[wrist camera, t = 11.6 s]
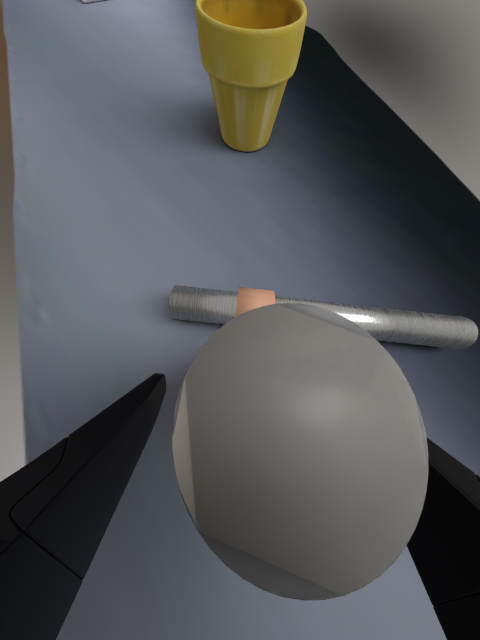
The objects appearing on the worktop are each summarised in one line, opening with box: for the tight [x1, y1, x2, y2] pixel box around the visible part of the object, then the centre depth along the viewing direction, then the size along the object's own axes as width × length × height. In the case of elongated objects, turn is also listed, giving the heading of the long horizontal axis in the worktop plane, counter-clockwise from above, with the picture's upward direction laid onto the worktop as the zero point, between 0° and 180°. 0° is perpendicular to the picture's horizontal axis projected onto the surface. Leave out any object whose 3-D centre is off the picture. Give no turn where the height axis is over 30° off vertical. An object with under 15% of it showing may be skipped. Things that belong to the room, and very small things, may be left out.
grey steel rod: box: [169, 285, 478, 349], centre depth 16 cm, size 4×26×4 cm, turn 84°
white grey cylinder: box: [172, 303, 429, 600], centre depth 10 cm, size 5×5×13 cm
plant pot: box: [195, 0, 307, 152], centre depth 21 cm, size 10×10×10 cm
